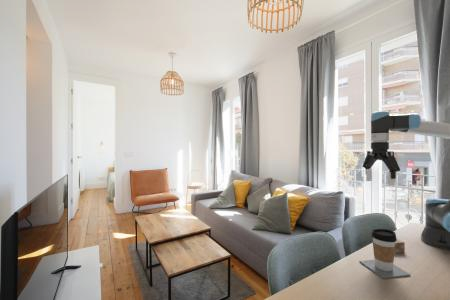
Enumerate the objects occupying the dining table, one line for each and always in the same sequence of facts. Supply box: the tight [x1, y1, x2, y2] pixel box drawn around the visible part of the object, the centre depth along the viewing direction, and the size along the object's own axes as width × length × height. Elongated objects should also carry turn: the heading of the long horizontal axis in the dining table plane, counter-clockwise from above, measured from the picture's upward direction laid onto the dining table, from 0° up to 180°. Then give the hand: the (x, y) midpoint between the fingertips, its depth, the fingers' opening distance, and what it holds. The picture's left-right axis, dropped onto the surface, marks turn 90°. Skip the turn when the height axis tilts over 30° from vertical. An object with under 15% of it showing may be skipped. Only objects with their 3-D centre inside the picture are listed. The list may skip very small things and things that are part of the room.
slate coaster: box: [359, 259, 411, 280], centre depth 90 cm, size 12×12×1 cm
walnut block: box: [395, 238, 406, 254], centre depth 106 cm, size 5×5×5 cm
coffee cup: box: [371, 228, 398, 271], centre depth 90 cm, size 8×8×15 cm
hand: (379, 183), depth 112 cm, fingers open, 13 cm apart
